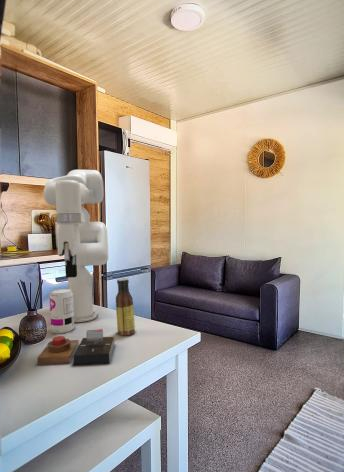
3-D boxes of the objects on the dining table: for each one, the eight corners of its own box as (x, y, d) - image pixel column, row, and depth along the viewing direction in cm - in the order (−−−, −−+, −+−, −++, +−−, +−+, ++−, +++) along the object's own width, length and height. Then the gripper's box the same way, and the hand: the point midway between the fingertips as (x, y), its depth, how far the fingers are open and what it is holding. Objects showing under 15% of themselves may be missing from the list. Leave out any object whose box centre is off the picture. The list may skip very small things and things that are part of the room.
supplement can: (52, 335, 110) (50, 294, 109) (49, 328, 117) (48, 290, 116) (75, 331, 114) (74, 291, 113) (72, 324, 121) (70, 287, 120)
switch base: (83, 346, 100) (82, 337, 100) (114, 345, 101) (114, 335, 100) (73, 365, 87) (73, 355, 87) (109, 363, 88) (109, 353, 87)
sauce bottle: (136, 330, 114) (135, 277, 113) (132, 336, 108) (131, 280, 106) (119, 329, 115) (117, 277, 113) (114, 336, 109) (112, 280, 107)
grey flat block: (87, 346, 93) (86, 331, 92) (88, 344, 94) (87, 329, 94) (102, 345, 93) (101, 330, 93) (103, 343, 94) (102, 328, 94)
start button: (54, 341, 95) (54, 336, 95) (66, 341, 96) (66, 335, 95) (51, 346, 92) (51, 340, 92) (63, 345, 92) (63, 340, 92)
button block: (50, 347, 99) (50, 335, 99) (78, 346, 100) (78, 334, 100) (37, 365, 88) (36, 351, 87) (69, 363, 88) (69, 350, 88)
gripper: (63, 219, 104) (65, 273, 106) (49, 220, 89) (52, 282, 91) (86, 219, 105) (87, 272, 106) (75, 219, 90) (78, 281, 91)
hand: (71, 276), depth 98 cm, fingers closed
